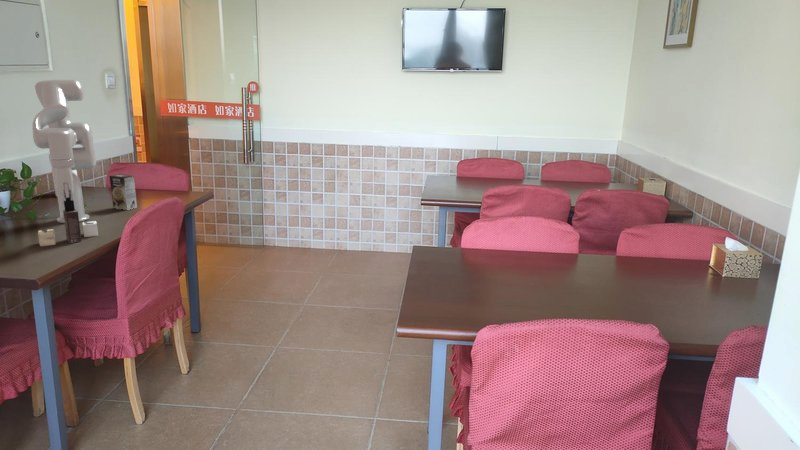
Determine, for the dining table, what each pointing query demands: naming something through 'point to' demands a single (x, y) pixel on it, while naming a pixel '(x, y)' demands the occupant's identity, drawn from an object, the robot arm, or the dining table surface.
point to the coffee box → (123, 191)
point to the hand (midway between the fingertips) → (70, 210)
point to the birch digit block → (46, 237)
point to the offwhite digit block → (90, 229)
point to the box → (72, 226)
